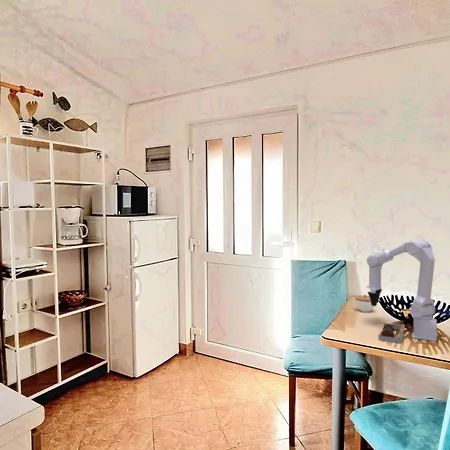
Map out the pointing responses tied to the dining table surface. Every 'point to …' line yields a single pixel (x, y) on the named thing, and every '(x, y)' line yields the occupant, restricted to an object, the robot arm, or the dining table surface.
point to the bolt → (388, 330)
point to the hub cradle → (394, 339)
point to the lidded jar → (364, 303)
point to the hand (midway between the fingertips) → (374, 304)
